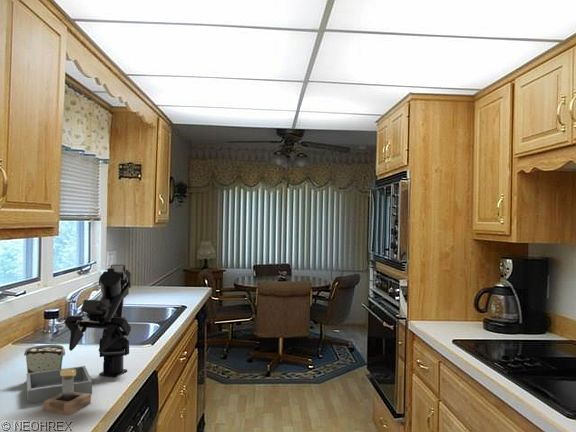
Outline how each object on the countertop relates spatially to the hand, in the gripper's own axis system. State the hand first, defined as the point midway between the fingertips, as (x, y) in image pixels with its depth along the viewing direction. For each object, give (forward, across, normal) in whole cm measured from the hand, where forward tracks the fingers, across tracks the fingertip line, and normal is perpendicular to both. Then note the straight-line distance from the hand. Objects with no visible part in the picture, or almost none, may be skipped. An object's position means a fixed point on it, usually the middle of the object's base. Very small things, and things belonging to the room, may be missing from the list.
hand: (84, 350), depth 132 cm
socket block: (+16, 0, +5) cm, 16 cm away
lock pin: (+14, 0, +4) cm, 15 cm away
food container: (-1, -23, +20) cm, 31 cm away
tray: (+8, -10, +12) cm, 18 cm away
